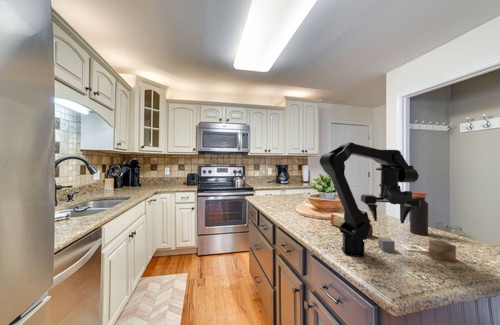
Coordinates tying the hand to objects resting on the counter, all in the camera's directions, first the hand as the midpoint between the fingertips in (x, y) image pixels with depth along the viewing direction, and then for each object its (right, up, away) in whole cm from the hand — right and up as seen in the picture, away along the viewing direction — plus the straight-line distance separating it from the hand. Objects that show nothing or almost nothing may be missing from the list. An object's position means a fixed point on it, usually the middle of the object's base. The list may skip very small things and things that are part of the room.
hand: (388, 222), depth 79 cm
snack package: (-3, -11, +24) cm, 26 cm away
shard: (+13, -12, -8) cm, 19 cm away
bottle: (+29, -12, +20) cm, 37 cm away
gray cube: (-1, -11, 0) cm, 11 cm away
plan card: (+11, -11, +1) cm, 15 cm away
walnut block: (+13, -10, -8) cm, 18 cm away
